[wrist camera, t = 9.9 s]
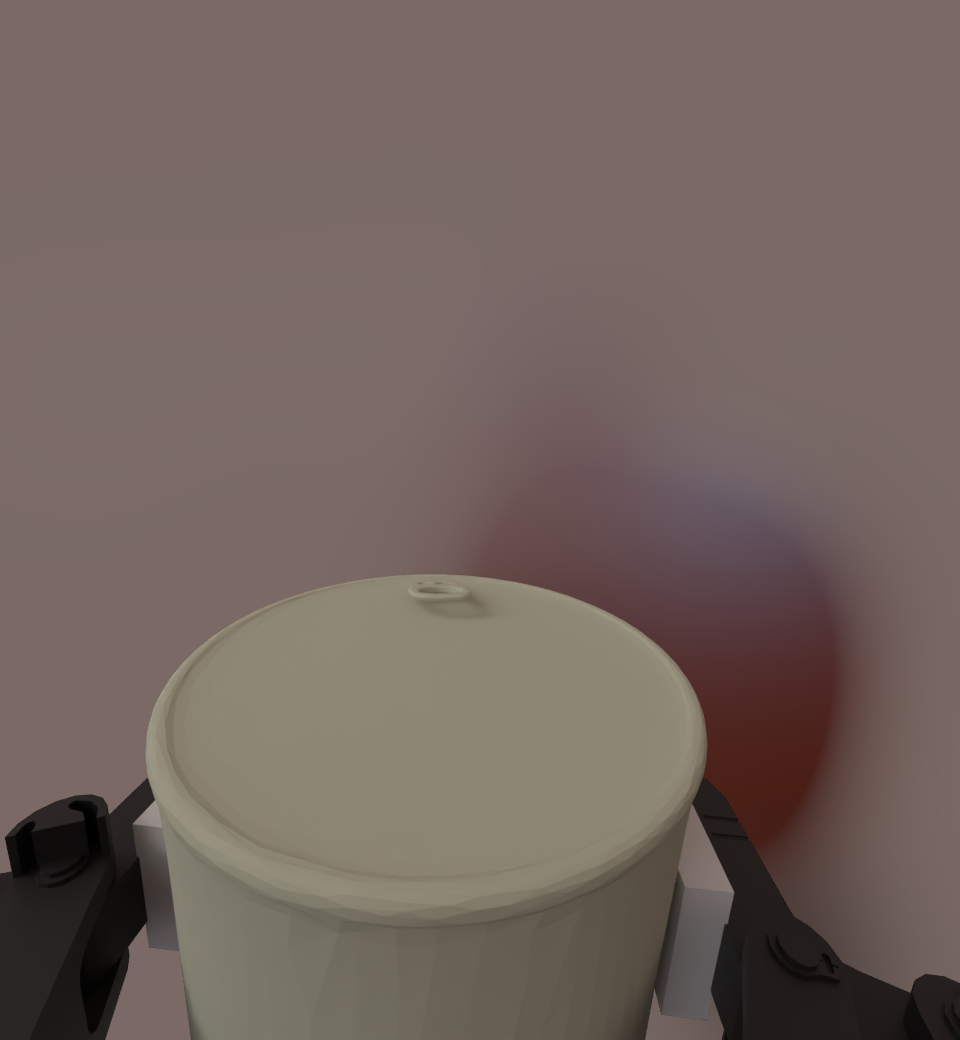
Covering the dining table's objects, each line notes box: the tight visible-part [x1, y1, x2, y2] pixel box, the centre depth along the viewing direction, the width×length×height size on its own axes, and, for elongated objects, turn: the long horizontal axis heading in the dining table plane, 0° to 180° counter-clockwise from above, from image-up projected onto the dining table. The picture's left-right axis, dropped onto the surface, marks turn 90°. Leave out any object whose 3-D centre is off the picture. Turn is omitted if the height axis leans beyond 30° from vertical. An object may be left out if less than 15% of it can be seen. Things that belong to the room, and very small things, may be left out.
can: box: [146, 574, 707, 1040], centre depth 10 cm, size 9×9×12 cm
